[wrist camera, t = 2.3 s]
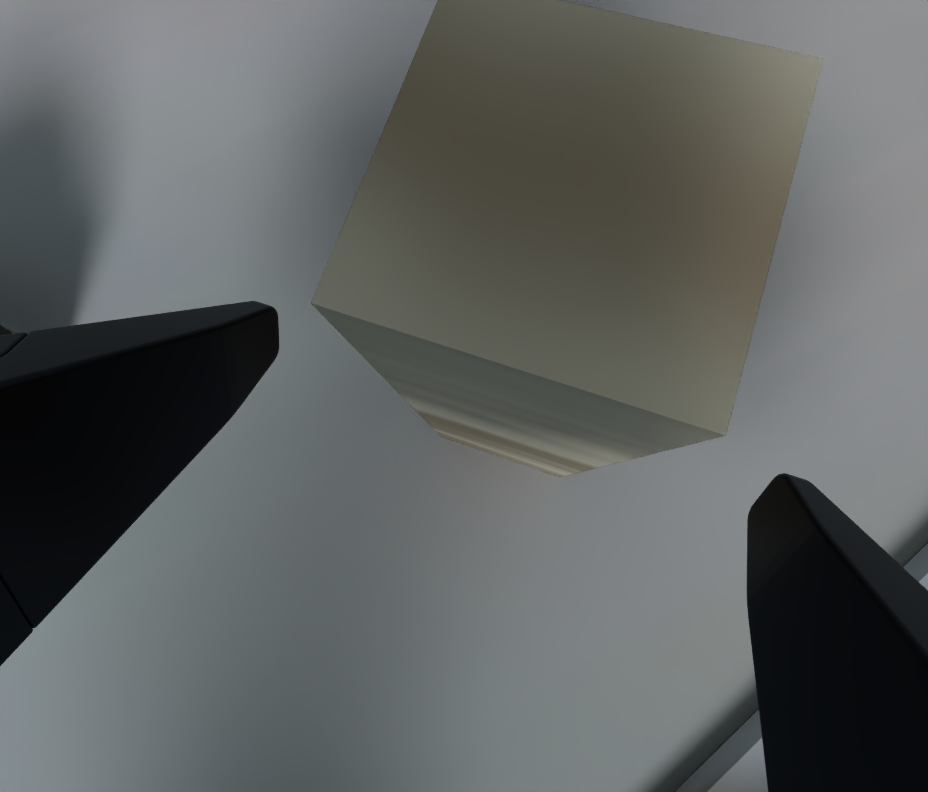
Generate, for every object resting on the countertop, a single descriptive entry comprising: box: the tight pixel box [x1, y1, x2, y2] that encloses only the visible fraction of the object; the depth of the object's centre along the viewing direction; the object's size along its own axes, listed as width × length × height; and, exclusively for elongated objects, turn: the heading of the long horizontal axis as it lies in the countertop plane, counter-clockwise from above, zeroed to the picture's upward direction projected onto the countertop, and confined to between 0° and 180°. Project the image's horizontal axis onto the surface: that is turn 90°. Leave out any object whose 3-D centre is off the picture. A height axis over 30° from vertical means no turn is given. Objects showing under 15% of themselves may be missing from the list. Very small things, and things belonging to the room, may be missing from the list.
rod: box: [311, 0, 823, 477], centre depth 12 cm, size 4×4×13 cm
